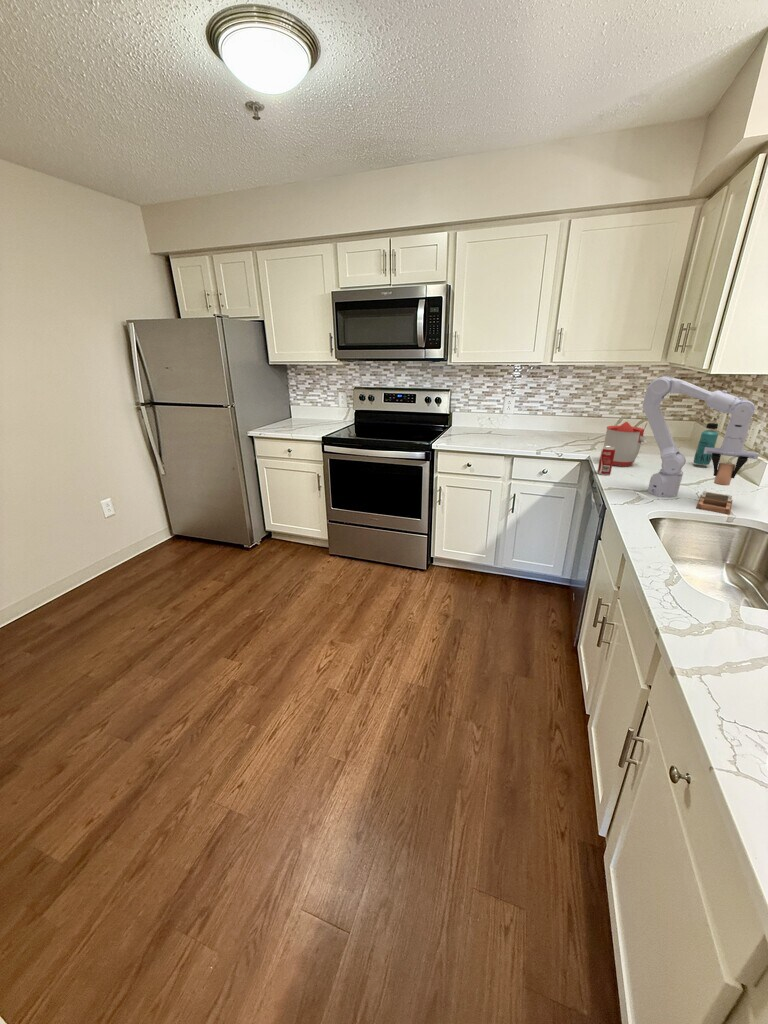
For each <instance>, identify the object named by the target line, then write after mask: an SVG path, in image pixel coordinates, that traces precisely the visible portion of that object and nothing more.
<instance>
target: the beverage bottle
mask: <svg viewBox="0 0 768 1024" xmlns="http://www.w3.org/2000/svg"><path fill="white" fill-rule="evenodd" d="M718 426H719V424H718V423H714V422H712V423H711V422H709V423H708V422H707V424H706V427H705V428H706V430H702V432H701V435H700V437H699V438H700V439H699V441H698V445H697V446H696V450H695V453H694V454H695V455H694V458H693V463H694V464H696V465H701V466H702V465H703V466H709V465H710V463H711V462H712V457H711V456H712V454H704V450H705V447H709V448H716V447H715V446H716V444H717V441H718V437H719V433H718V432H717V431H716V430H717V429H718ZM709 429H710V430H709Z"/></svg>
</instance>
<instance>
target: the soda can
mask: <svg viewBox="0 0 768 1024" xmlns="http://www.w3.org/2000/svg"><path fill="white" fill-rule="evenodd" d="M614 454H615V447H611V446H604V445H603V447H602V448H601V452H600V458H599V463H598V468H597V474H598V475H600V476H610V475H612V474H611V473H612V469H613V465H612V464H613V459H614Z"/></svg>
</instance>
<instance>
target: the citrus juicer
mask: <svg viewBox="0 0 768 1024" xmlns="http://www.w3.org/2000/svg"><path fill="white" fill-rule="evenodd" d="M644 432H645V429H644V428H642V427H639V426H638V427H637V426H632V425H631V424H630V423H629V422H628V421H624V422H623V423H622V424H620V425H608V426H607V427H606V432H605V438H604V443H603V447H604V446H611V447H615V454H614V459H613V464H612V466H616V467H629V466H632V465H633V464H634V462H635V461H636V459H637V457H638V456H639V453H640V449H641V445H642V443H644V444H645V443H647V438H646V437H645V436H644Z"/></svg>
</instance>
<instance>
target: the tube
mask: <svg viewBox="0 0 768 1024" xmlns="http://www.w3.org/2000/svg"><path fill="white" fill-rule="evenodd" d="M735 466H736V463H732V462H719V464H718V468H717V473H716V476H714V481H713V483H714V484H715V485H718V486H730V484H731V482H732V479H733V478H732V475H733V471H734V469H735Z"/></svg>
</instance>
